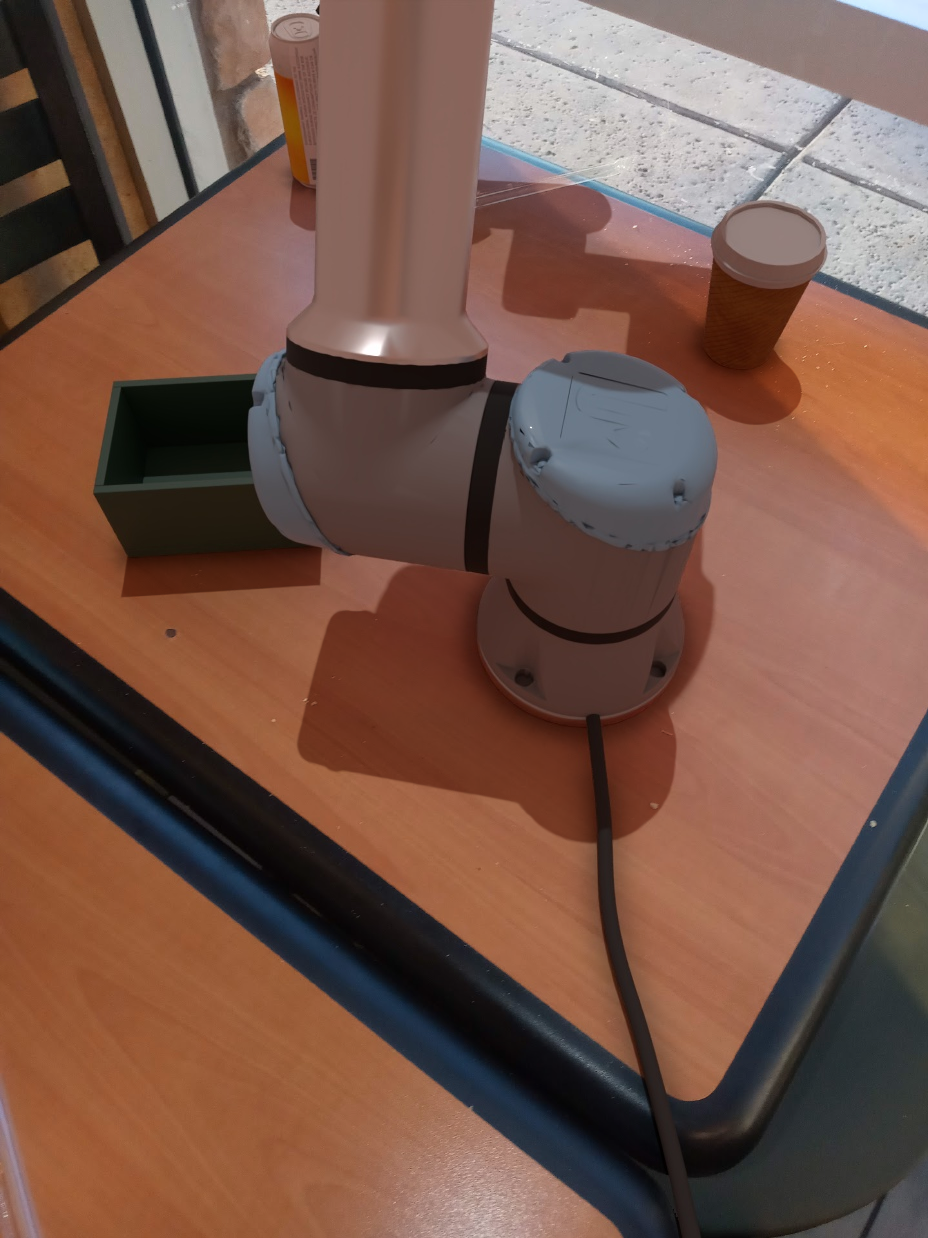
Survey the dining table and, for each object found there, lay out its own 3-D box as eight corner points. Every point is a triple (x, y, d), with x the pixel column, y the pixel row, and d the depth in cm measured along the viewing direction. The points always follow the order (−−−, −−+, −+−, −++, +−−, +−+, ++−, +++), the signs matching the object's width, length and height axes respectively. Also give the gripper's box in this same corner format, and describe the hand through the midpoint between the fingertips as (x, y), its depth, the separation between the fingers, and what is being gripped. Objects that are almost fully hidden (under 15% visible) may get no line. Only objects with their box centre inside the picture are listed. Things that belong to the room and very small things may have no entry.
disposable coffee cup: (810, 354, 84) (857, 240, 74) (734, 397, 81) (772, 284, 71) (738, 298, 88) (774, 182, 78) (663, 336, 85) (690, 222, 75)
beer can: (340, 154, 101) (321, 5, 88) (354, 185, 98) (337, 36, 85) (287, 164, 100) (260, 16, 87) (299, 196, 97) (273, 47, 84)
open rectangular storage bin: (321, 546, 73) (306, 480, 66) (127, 557, 72) (92, 493, 65) (323, 439, 79) (309, 369, 72) (144, 450, 78) (113, 380, 71)
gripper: (574, -73, 77) (417, 139, 87) (464, -180, 89) (337, 17, 99) (520, -141, 71) (358, 95, 81) (410, -245, 83) (281, -29, 93)
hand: (346, 52), depth 90 cm, fingers open, 13 cm apart
